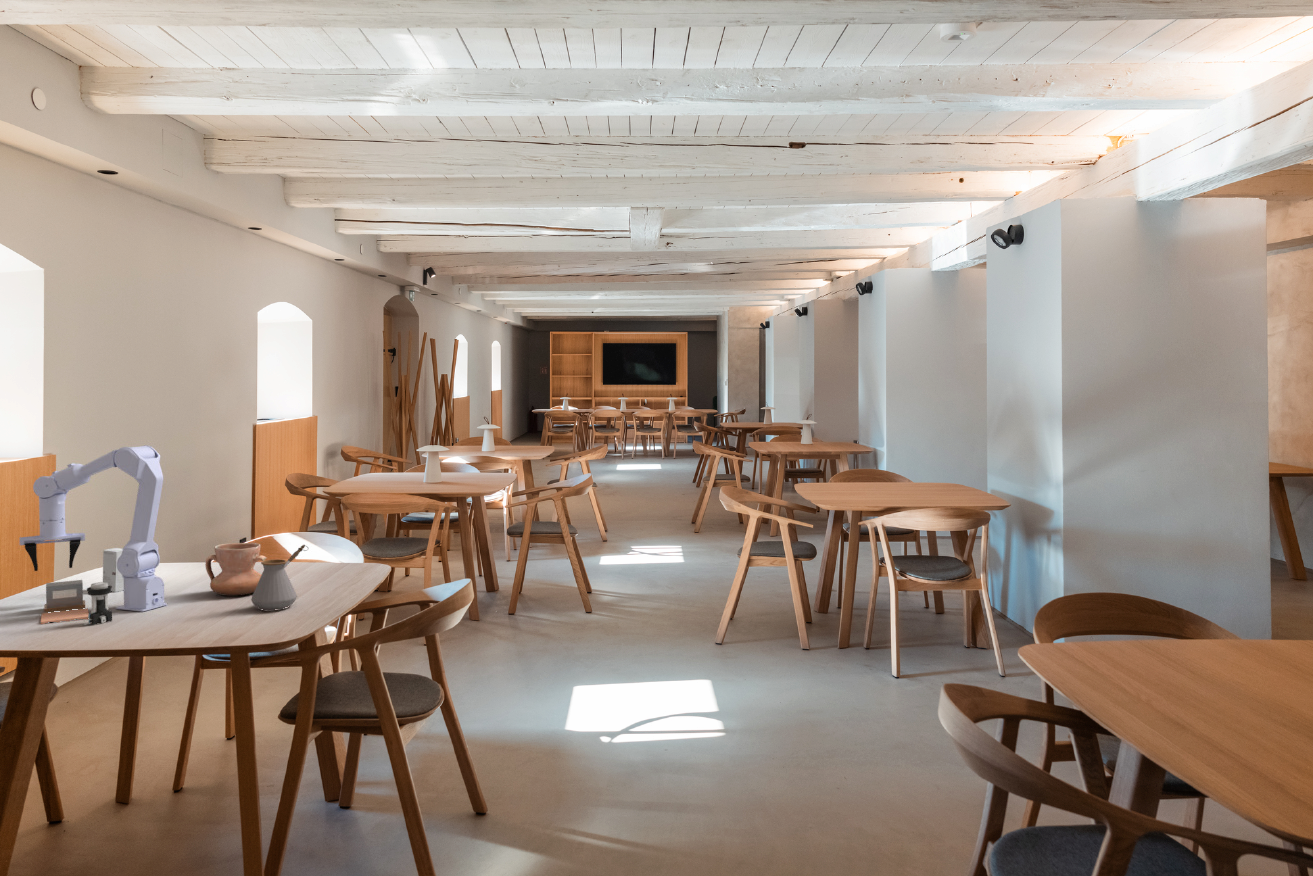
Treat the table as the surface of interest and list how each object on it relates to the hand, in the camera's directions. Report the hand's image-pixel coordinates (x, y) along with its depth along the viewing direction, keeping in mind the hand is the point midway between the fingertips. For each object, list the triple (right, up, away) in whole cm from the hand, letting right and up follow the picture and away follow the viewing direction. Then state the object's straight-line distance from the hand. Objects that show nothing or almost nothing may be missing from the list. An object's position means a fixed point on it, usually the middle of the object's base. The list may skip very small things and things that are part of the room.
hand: (53, 568), depth 230 cm
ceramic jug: (+41, -10, +17) cm, 46 cm away
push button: (+23, -11, -17) cm, 31 cm away
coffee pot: (+61, -11, +6) cm, 62 cm away
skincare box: (+5, -10, +20) cm, 22 cm away
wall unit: (+5, -10, -3) cm, 12 cm away
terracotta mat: (+11, -11, -12) cm, 19 cm away
